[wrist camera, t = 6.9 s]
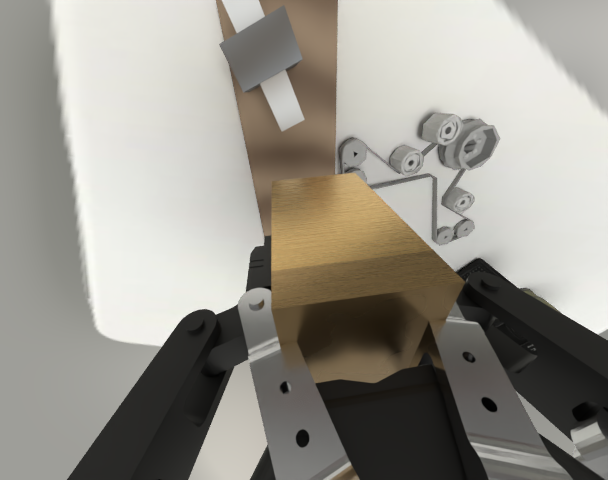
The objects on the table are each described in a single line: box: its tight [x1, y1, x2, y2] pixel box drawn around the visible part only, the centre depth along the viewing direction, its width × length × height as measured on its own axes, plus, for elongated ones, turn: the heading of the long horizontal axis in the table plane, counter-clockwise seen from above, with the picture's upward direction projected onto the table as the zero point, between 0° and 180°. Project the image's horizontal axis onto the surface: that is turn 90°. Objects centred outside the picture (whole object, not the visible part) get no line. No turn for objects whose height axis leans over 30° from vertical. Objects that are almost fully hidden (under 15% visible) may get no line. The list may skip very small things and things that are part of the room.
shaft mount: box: [216, 0, 338, 237], centre depth 24 cm, size 27×10×7 cm, turn 4°
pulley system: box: [339, 113, 500, 245], centre depth 29 cm, size 27×5×15 cm
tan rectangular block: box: [271, 173, 465, 383], centre depth 10 cm, size 6×4×8 cm
